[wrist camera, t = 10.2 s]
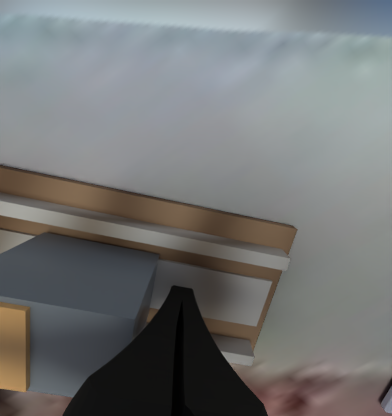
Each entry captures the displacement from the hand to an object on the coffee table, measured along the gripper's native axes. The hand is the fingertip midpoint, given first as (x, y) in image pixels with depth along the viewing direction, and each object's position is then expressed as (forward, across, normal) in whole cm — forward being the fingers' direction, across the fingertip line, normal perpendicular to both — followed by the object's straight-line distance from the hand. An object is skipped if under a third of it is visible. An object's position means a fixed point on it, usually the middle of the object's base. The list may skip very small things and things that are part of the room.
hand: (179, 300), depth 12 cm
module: (+1, +5, 0) cm, 5 cm away
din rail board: (+2, +5, 0) cm, 6 cm away
